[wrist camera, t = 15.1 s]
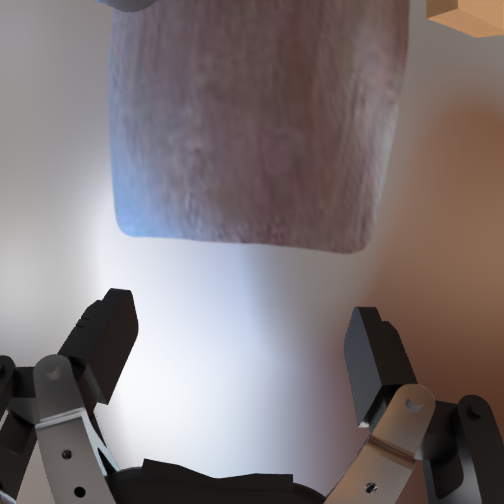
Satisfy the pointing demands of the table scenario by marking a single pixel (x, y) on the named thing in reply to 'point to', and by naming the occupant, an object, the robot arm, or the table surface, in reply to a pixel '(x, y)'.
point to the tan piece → (469, 16)
